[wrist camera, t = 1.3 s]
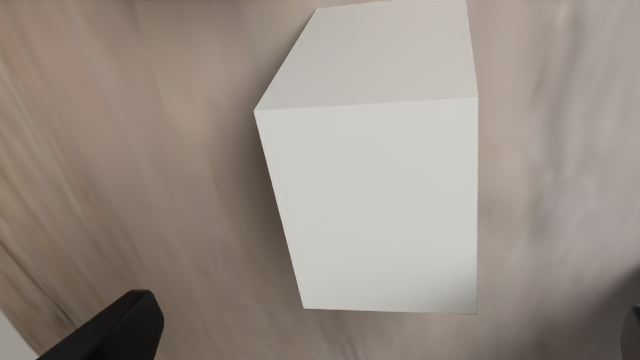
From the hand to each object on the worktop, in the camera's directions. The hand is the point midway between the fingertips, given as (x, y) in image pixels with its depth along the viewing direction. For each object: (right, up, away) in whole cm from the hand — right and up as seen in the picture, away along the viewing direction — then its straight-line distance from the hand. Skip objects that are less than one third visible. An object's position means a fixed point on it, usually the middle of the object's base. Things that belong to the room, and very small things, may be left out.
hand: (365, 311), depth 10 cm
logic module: (+2, +6, +8) cm, 10 cm away
